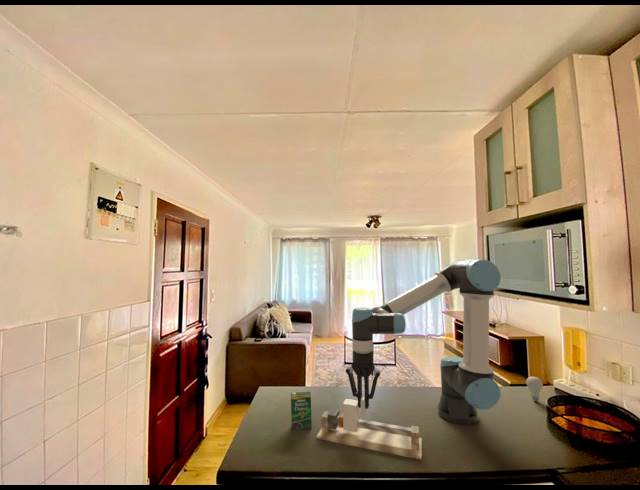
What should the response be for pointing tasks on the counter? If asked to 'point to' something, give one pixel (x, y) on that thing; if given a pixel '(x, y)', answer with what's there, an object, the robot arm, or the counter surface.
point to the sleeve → (350, 415)
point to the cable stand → (372, 435)
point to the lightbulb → (534, 387)
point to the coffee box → (301, 410)
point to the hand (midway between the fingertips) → (363, 416)
